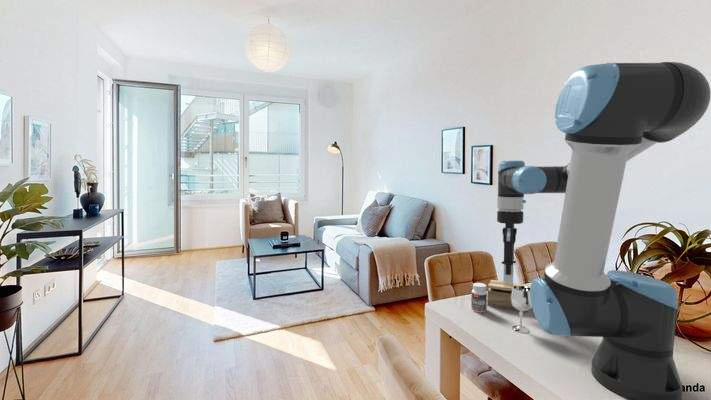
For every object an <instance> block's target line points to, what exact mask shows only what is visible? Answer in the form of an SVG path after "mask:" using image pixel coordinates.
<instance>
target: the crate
mask: <svg viewBox="0 0 711 400" xmlns="http://www.w3.org/2000/svg"><path fill="white" fill-rule="evenodd" d="M511 292H512V291H508V290H501V289H494V288H488V290H487V306H488V305H489V307H494V308H501V309H506V310H507V309H508V310H512V311H513V310H514V311H519V312H520V310H517V309H515V308H514V307H513V306H512V304H511ZM524 312H525V313H528V310H527V311H524Z"/></svg>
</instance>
